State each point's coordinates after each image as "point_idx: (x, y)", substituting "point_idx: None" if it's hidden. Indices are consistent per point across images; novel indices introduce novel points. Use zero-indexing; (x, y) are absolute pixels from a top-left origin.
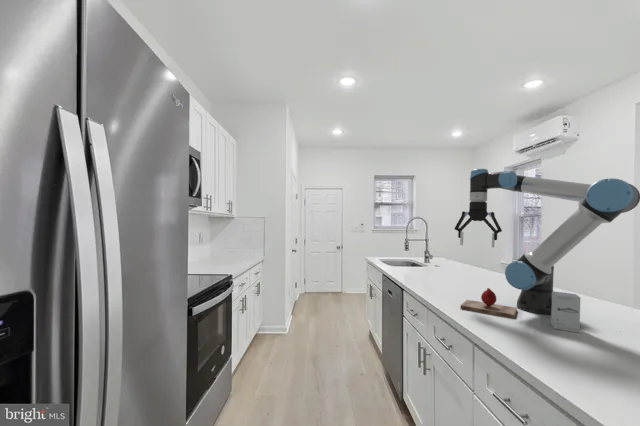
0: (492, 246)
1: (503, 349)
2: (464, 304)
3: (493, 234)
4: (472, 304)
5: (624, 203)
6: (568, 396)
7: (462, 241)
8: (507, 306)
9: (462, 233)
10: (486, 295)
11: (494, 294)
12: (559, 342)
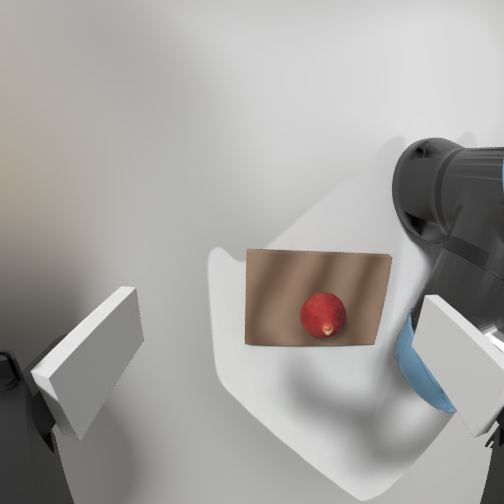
0: (419, 348)
1: (326, 470)
2: (252, 326)
3: (477, 424)
4: (273, 311)
5: None
6: (356, 495)
7: (125, 337)
8: (369, 260)
9: (85, 412)
10: (317, 337)
11: (342, 326)
12: (405, 415)
